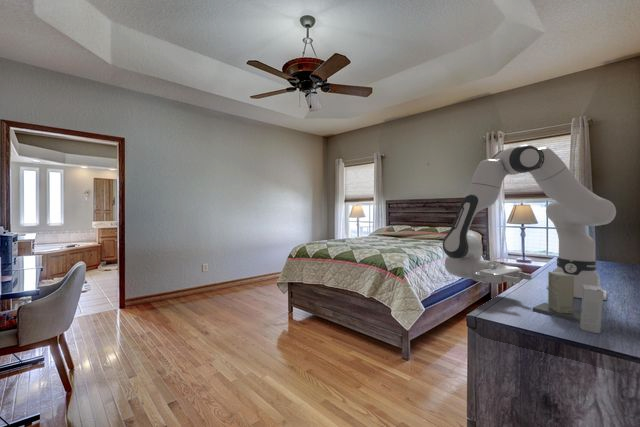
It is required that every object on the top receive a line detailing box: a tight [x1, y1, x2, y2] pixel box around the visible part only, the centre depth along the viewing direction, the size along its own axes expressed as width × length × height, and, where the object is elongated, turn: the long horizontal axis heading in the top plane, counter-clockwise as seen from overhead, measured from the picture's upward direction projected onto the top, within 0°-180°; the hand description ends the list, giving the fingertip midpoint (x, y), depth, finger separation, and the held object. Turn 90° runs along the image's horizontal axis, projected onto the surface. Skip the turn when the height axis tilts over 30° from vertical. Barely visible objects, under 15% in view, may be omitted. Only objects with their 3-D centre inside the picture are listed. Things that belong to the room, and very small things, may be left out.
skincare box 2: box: [579, 285, 604, 334], centre depth 84 cm, size 6×4×12 cm
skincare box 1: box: [547, 271, 575, 314], centre depth 96 cm, size 6×4×12 cm
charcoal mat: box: [532, 302, 581, 324], centre depth 97 cm, size 10×12×1 cm
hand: (525, 279), depth 105 cm, fingers open, 8 cm apart
